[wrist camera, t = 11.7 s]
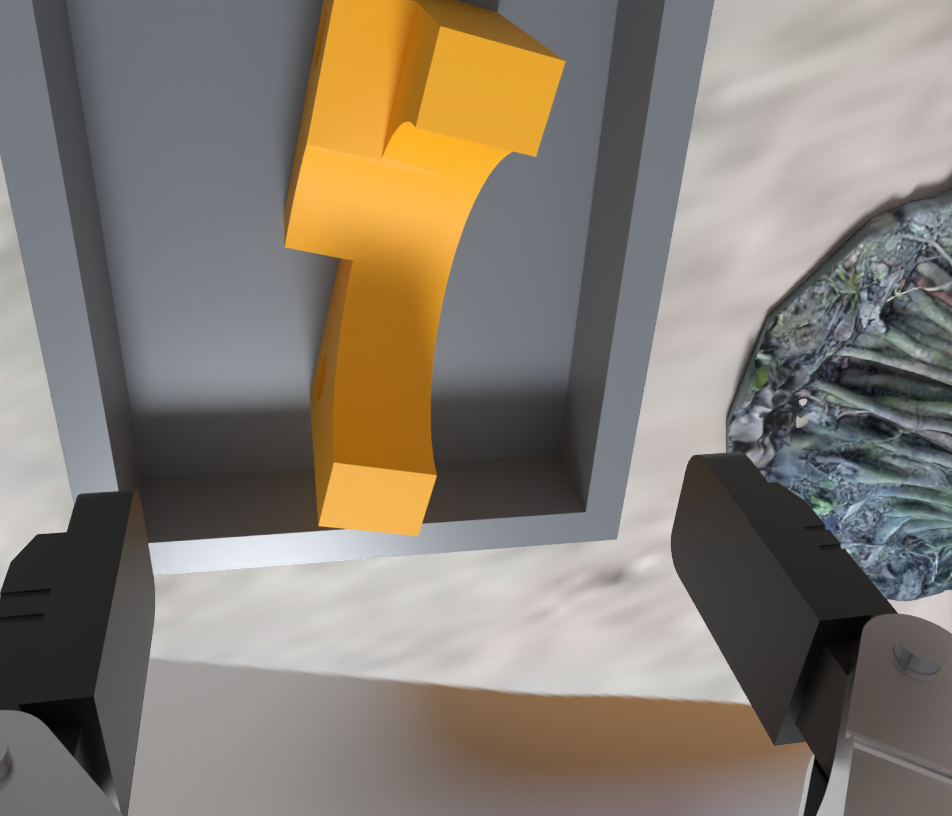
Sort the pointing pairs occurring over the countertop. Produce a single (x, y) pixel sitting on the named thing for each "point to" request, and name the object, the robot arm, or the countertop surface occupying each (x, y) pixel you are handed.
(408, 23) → the pipe clamp
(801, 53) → the countertop surface
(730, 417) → the tree stump
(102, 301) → the tray
